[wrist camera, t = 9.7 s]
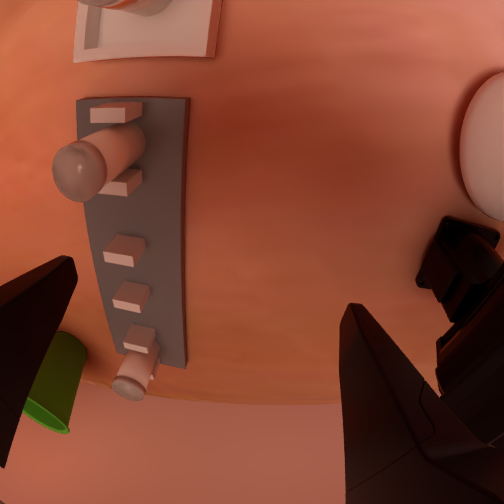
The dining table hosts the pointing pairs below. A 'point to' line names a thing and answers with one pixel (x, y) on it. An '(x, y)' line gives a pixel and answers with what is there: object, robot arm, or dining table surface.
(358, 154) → the dining table surface
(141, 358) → the cylinder
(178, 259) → the fuse block
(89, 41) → the tray
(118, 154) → the cylinder
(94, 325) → the dining table surface
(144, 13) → the cylinder
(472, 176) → the flower in vase
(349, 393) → the robot arm
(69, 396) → the cup
